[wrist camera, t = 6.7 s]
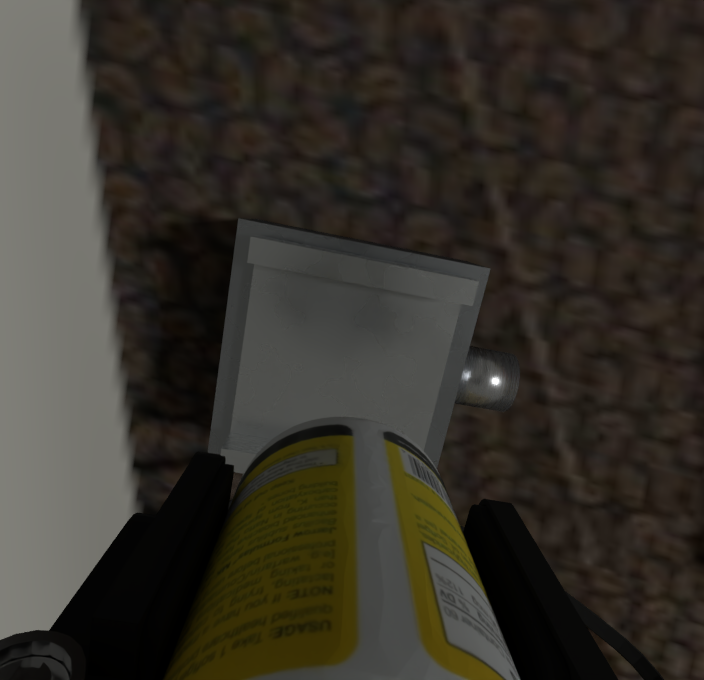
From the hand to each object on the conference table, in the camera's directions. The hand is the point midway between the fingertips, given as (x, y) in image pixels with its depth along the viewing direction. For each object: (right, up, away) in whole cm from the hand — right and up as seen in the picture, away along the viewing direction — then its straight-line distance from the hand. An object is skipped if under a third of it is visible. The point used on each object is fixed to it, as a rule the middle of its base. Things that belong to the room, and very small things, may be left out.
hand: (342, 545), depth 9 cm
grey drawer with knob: (+1, +4, +16) cm, 16 cm away
